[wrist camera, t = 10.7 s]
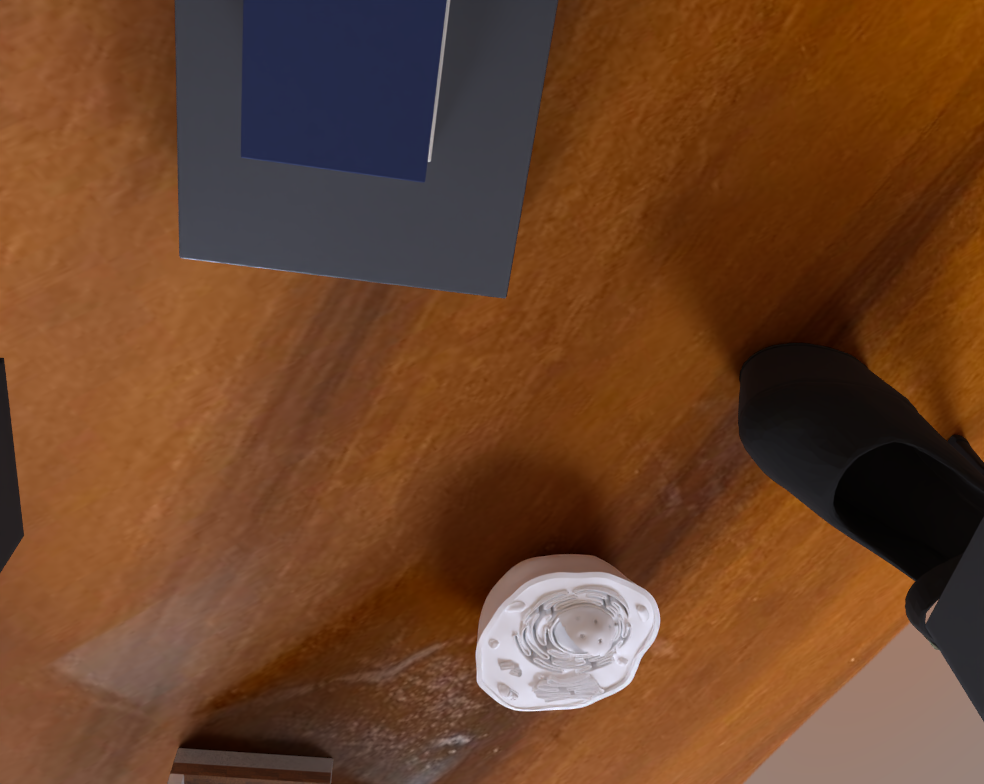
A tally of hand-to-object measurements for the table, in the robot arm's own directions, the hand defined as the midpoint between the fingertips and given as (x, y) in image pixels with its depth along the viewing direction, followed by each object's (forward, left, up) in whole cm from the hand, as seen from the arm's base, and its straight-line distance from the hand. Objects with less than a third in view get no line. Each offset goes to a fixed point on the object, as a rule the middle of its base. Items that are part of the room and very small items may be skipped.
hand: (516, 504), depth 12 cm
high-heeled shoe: (+16, +24, -34) cm, 44 cm away
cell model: (+31, +10, -34) cm, 47 cm away
